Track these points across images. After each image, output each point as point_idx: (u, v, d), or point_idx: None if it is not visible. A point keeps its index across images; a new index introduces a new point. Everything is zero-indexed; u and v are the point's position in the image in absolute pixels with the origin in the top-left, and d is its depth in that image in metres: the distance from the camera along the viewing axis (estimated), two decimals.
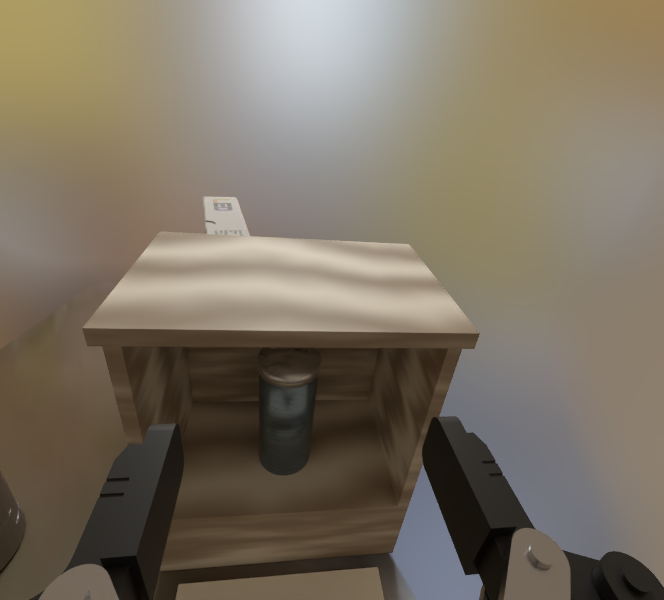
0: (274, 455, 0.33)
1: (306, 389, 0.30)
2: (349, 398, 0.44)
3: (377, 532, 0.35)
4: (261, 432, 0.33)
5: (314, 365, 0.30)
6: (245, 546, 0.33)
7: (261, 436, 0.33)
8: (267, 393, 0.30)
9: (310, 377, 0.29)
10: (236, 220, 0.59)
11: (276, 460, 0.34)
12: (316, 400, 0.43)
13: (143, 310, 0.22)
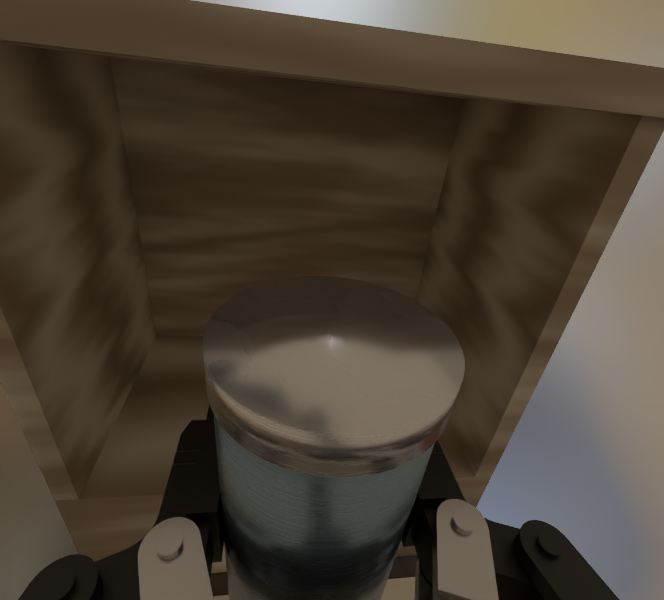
0: None
1: (414, 469, 0.07)
2: None
3: None
4: (232, 587, 0.10)
5: (445, 364, 0.07)
6: None
7: (232, 596, 0.10)
8: (244, 487, 0.07)
9: (441, 419, 0.06)
10: None
11: None
12: None
13: None
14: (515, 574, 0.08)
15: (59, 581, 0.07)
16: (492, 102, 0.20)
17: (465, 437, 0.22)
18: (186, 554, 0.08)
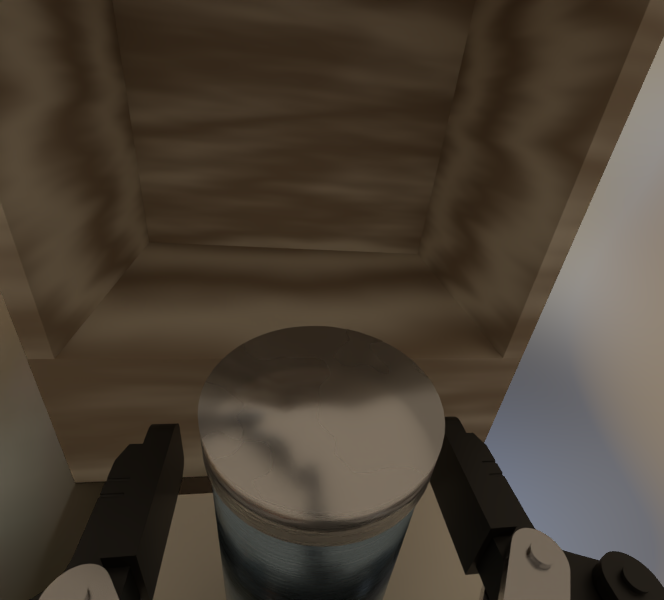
0: None
1: (397, 528, 0.07)
2: (390, 250, 0.29)
3: (459, 416, 0.20)
4: None
5: (426, 428, 0.07)
6: None
7: None
8: (239, 544, 0.07)
9: (421, 487, 0.07)
10: None
11: None
12: (340, 250, 0.28)
13: None
14: None
15: None
16: None
17: (491, 320, 0.19)
18: None
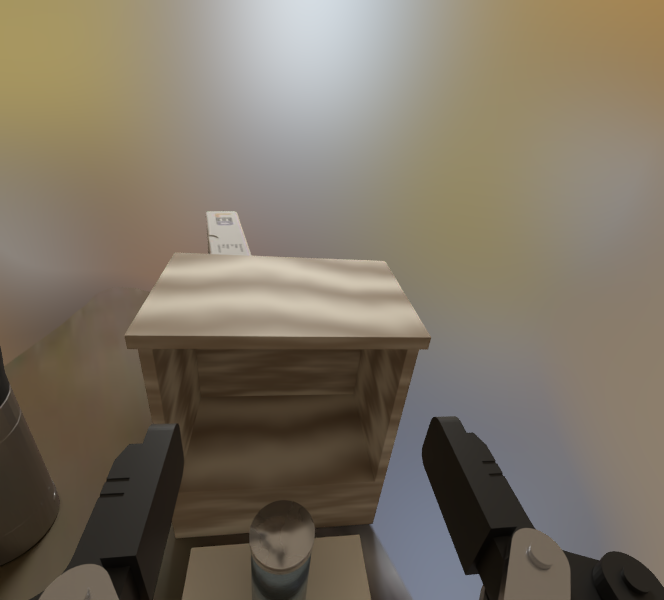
0: None
1: (300, 569, 0.29)
2: (337, 393, 0.50)
3: (359, 504, 0.41)
4: (254, 597, 0.32)
5: (308, 542, 0.29)
6: (246, 516, 0.40)
7: None
8: (259, 573, 0.29)
9: (304, 559, 0.28)
10: (236, 234, 0.65)
11: None
12: (308, 395, 0.50)
13: (168, 320, 0.28)
14: None
15: None
16: None
17: (372, 460, 0.41)
18: None
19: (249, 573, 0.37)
